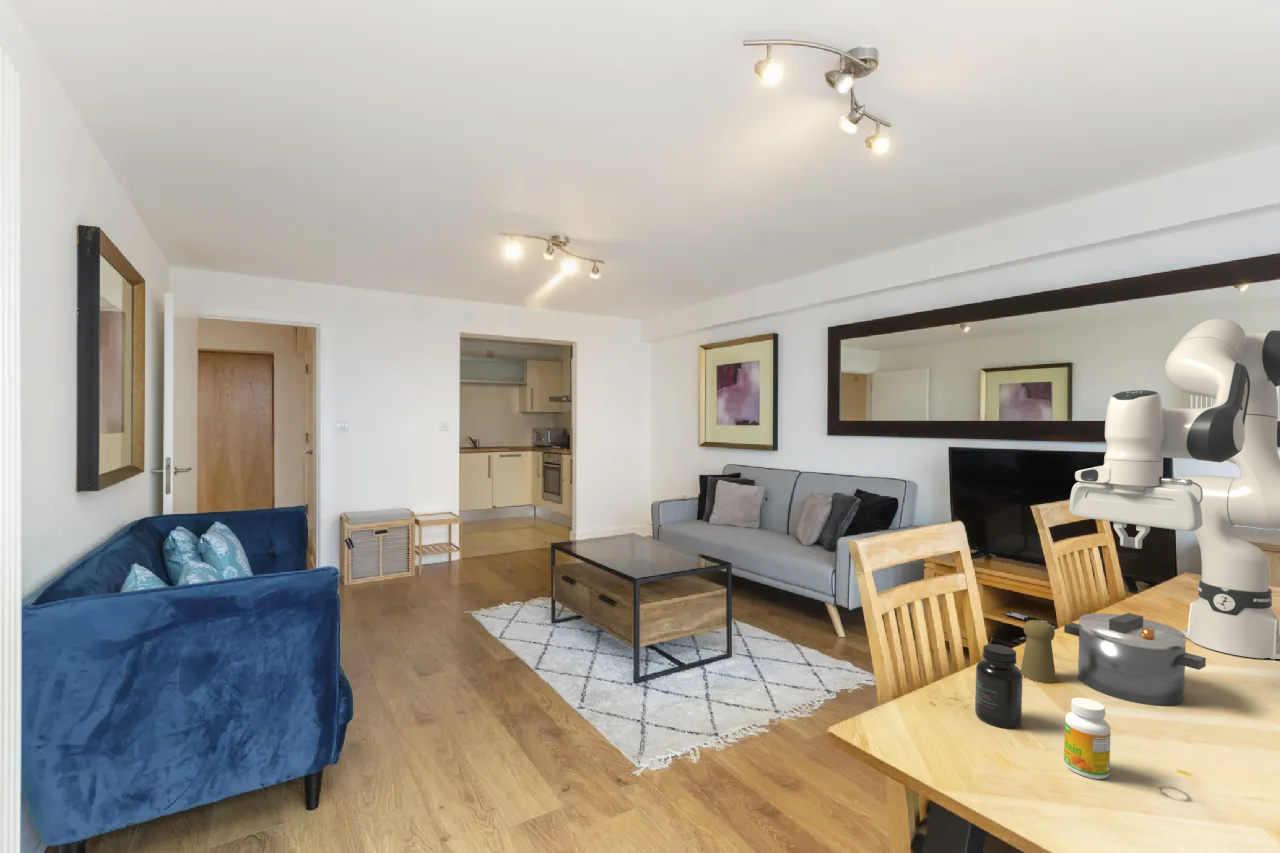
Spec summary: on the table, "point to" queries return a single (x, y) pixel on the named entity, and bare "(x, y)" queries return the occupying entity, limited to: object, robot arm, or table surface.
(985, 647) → the supplement bottle
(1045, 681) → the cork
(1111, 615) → the cooker lid
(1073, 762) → the supplement bottle
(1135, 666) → the cooker pot
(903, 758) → the table surface
